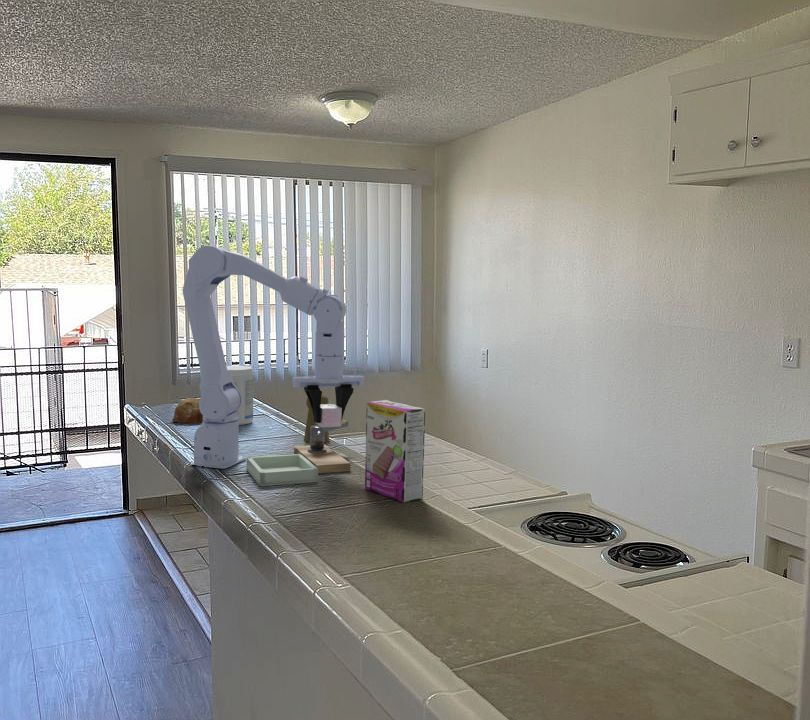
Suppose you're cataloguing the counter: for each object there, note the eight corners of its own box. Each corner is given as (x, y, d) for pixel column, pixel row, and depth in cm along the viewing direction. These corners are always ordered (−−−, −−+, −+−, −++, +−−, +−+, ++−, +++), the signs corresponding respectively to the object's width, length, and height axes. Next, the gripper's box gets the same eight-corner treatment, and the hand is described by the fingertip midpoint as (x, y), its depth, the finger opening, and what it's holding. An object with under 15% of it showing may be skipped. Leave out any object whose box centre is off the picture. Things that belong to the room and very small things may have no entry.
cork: (324, 443, 177) (325, 397, 176) (300, 441, 178) (301, 395, 177) (332, 438, 183) (333, 393, 182) (308, 436, 184) (309, 392, 183)
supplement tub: (242, 418, 206) (243, 364, 205) (259, 423, 199) (260, 368, 197) (209, 421, 200) (209, 366, 199) (225, 427, 193) (226, 370, 191)
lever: (318, 450, 160) (318, 427, 159) (307, 448, 161) (307, 426, 161) (350, 441, 169) (350, 420, 169) (339, 439, 171) (339, 418, 171)
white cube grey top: (315, 422, 156) (315, 404, 155) (333, 422, 157) (334, 403, 157) (322, 427, 151) (322, 408, 151) (341, 426, 153) (341, 407, 152)
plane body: (293, 453, 166) (293, 445, 166) (324, 451, 169) (324, 443, 169) (316, 473, 150) (316, 463, 149) (350, 470, 152) (350, 461, 152)
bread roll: (177, 431, 205) (164, 405, 203) (212, 413, 208) (199, 387, 206) (183, 438, 196) (169, 411, 194) (219, 419, 199) (206, 393, 197)
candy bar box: (362, 489, 139) (365, 401, 137) (383, 485, 142) (386, 399, 141) (402, 504, 131) (405, 410, 129) (424, 499, 134) (427, 407, 132)
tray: (246, 469, 151) (246, 457, 151) (300, 465, 155) (300, 453, 155) (260, 486, 139) (260, 473, 139) (318, 481, 143) (318, 468, 143)
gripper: (299, 357, 146) (298, 426, 148) (369, 357, 152) (368, 423, 153) (290, 354, 153) (289, 420, 154) (358, 353, 158) (356, 417, 160)
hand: (327, 421), depth 154 cm, fingers closed on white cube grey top, 4 cm apart
